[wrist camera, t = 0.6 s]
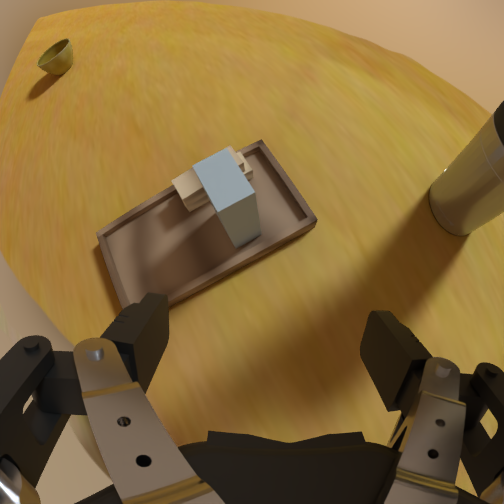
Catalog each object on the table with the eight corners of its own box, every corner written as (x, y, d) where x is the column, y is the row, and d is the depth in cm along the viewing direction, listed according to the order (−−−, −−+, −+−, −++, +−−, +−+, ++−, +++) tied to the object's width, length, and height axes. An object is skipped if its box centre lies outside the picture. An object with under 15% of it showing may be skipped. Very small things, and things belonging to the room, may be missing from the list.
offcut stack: (241, 159, 37) (237, 141, 33) (254, 179, 36) (252, 162, 32) (179, 192, 36) (169, 177, 32) (190, 213, 35) (180, 200, 32)
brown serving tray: (262, 150, 39) (261, 139, 36) (314, 226, 35) (317, 219, 33) (105, 238, 37) (95, 232, 35) (137, 324, 34) (128, 323, 31)
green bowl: (87, 56, 51) (76, 37, 44) (60, 84, 49) (46, 66, 43) (69, 55, 53) (58, 38, 46) (44, 81, 51) (31, 65, 45)
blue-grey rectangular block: (240, 199, 35) (226, 147, 25) (261, 234, 34) (255, 192, 23) (215, 212, 35) (192, 165, 25) (235, 248, 34) (217, 212, 23)
